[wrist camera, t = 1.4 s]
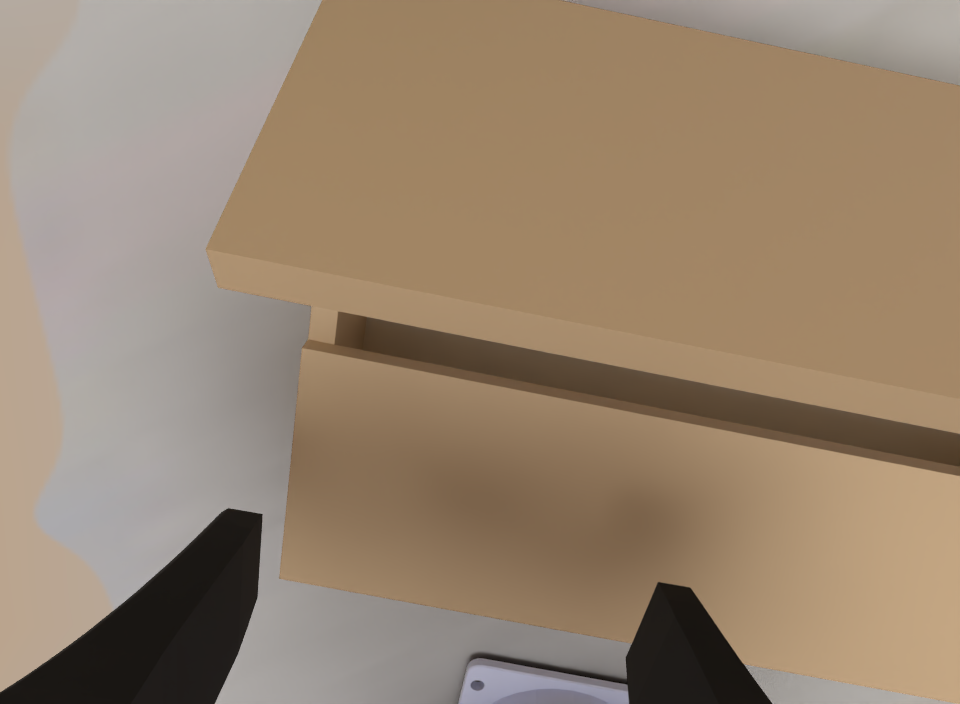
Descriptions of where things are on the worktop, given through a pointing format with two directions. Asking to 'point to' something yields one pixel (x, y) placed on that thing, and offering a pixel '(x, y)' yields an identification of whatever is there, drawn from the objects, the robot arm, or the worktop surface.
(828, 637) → the carton
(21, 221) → the worktop surface
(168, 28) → the worktop surface
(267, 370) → the worktop surface
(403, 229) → the flap
